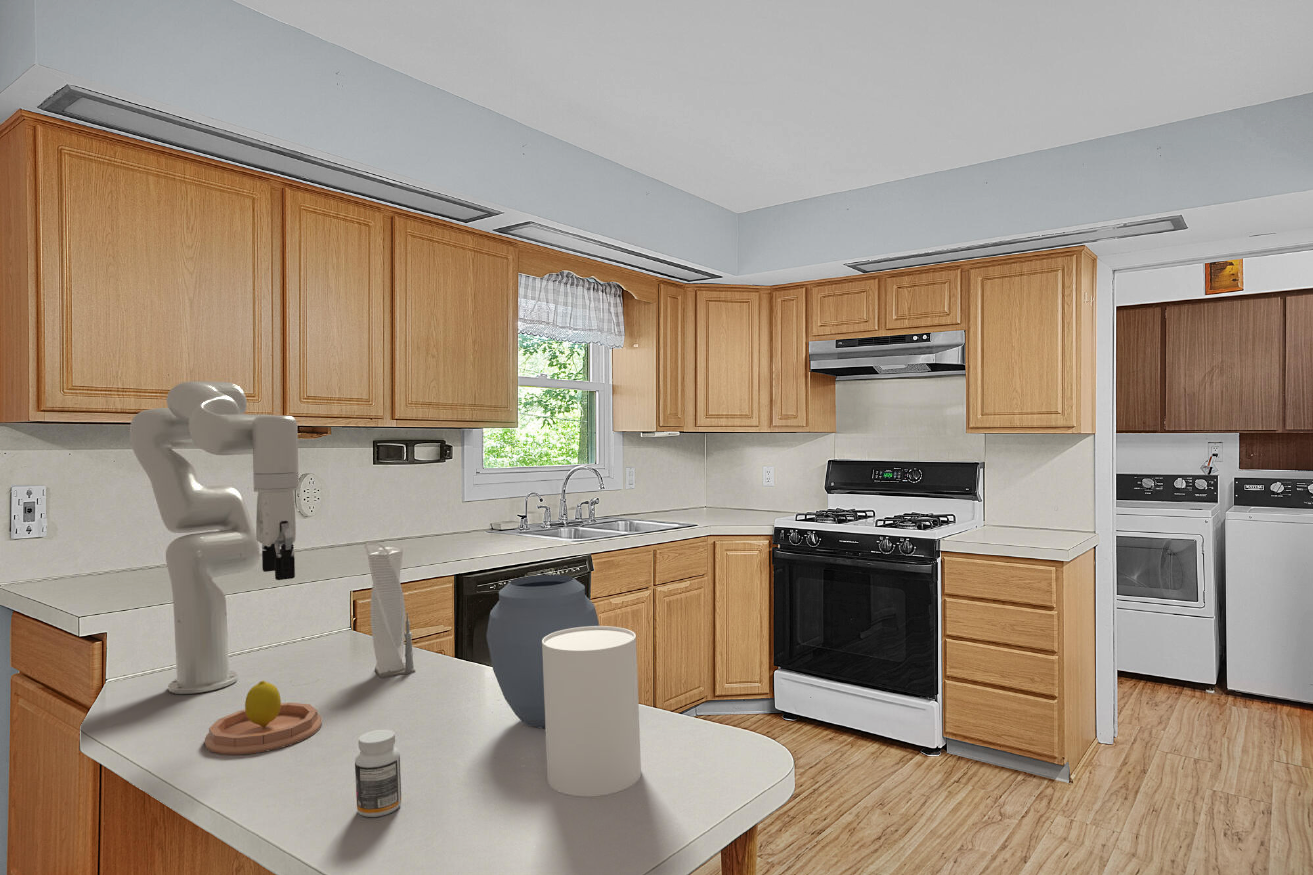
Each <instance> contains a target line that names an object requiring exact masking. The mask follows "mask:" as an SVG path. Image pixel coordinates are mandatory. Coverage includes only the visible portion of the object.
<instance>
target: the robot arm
mask: <svg viewBox="0 0 1313 875" xmlns="http://www.w3.org/2000/svg"><path fill="white" fill-rule="evenodd" d="M247 403H248V401H247V396H246V394H245V392H244V390H243V389H242V388H241V387H240V386H239V385H237V384H236V383H233V382H228V381H201V380H199V381H195V380H194V381H184V382H180V383H179V384H178V383H177V384H176V385H175V386H174V387H172V388H171V389H170V390H169V392H168V393H167V396H166V404H167V407H161V408H160V407H158V408H156V407H155V408H149V409H146V410H142V411H140V412H138V413H136V414H135V415H134V416H133V418H132V419H131V422H130V425H129V437H130V445H131V447H132V450H133V452H134V455H135V457H136V459H137V461H138V462H139V464H140V466H141V467H142V469H143V470H144V472H145V473H146V475H147V477H148V479H149V481H150V483H151V487H152V491H153V495H154V498H155V500H156V505H157V507H158V510H159V513H160V514H159V515H160V518H161V520H162V523H163V525H164V527H165V528H166V529H167V530H168V531H170V532H171V533H175V534H184V535H181V536H180V537H177V538H175V539H174V540H172V541H171V542H170V543H169V544H168V545H167V547H166V550H165V564H166V567H167V570H168V575H169V580H170V584H171V591H172V603H173V622H174V642H175V643H174V644H175V645H174V646H175V665H176V668H175V669H176V679H174V680H172V681H171V682H170V683H169V684H168V686H167V687H168V691H169V692H170V693H172V694H177V695H190V694H199V693H201V694H202V693H205V692H211V691H215V690H219V689H222V688H225V687H228V686H230V685H232V684H234V683H235V682H236V681H238V678H239V677H238V673H237V672H236V671H233V670H230V663H229V662H230V661H229V660H230V659H229V638H228V637H229V636H228V634H229V633H228V617H227V615H228V614H227V600H226V595H225V593H224V592H223V591H222V589H221V588H220V587H219V586H218V585H217V584H216V583H215V582H214V581H213V579H214V578H217V577H222V576H227V575H228V576H229V575H234V574H240V573H245V572H248V571H251V570H252V569H254V568H255V567H257V565H258V563H259V560H260V554H261V558H262V561H261V562H262V566H261V567H262V568H261V569H262V572H264V573H266V572H274V579H275V580H276V581H284V580H290V579H295V576H296V570H295V569H296V566H295V559H296V558H295V550H294V548H295V547H294V543H295V542H296V539H297V538H296V536H297V534H296V533H297V532H296V528H297V526H296V524H297V523H296V505H295V494H294V493H295V492H294V491H299V489H300V487H299V486H300V482H299V446H298V445H299V443H298V442H299V437H298V432H299V431H298V422H297V420H296V419H295V417H294V416H291V415H275V414H266V413H265V414H262V413H261V414H251V413H250V414H245V413H246V410H247ZM175 447H176V448H181V447H184V448H185V447H186V448H187V447H197V448H199V449H200V450H203V451H204V452H206V453H209V454H211V455H216V456H236V455H237V456H238V455H252V469H253V471H252V472H253V475H252V476H253V478H252V479H253V492H255V493H257V500H256V526H255V527H256V528H254V526H253V522H252V519H251V517H250V513H249V510H248V508H247V507H248V506H247V504H246V502H245V500H244V498H243V495H242V494H241V493H240V491H238V490H237V488H235V487H232V486H230V485H213V486H211V485H210V486H203V485H202V484H200V482H199V479H198V476H197V472H196V470H195V468H194V467H193V465H192V464H191V463H190V462H189V461H188V460H187V459H186V458H185V457H184V456H182V455H181V454H180V453H178V452H176V451H175V450H174V449H173V448H175ZM255 529H256V530H255ZM216 530H217V531H216ZM204 531H206V532H204ZM255 531H256V532H255ZM188 533H189V534H188ZM191 533H192V534H191ZM185 534H186V535H185ZM260 544H261V549H262V550H261V551H260ZM260 552H261V553H260Z"/></svg>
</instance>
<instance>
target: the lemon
mask: <svg viewBox="0 0 1313 875" xmlns="http://www.w3.org/2000/svg"><path fill="white" fill-rule="evenodd" d="M281 701H282V700H281V695H280V692H279V690H278V688H277V687H276V686H275V685H274V684H272V683H271V682H267V681H265V680H261V681H259V682H258V683H257V684H255V685H254V686H252V687H251V688H250V689H249V691H248V692H247V695H246V697H245V701H244V703H245V704H244V710H245V711H246V715H247V717H248V719H249V720H250V721H251V722H253V723H255V724H258V725H260V726H261V727H266V726H267V725H268V724H269V723H270V722H271V721H273V720H274V719H275V718H276V717H277V715H278V714H279V711H280V707H281V703H282V702H281Z"/></svg>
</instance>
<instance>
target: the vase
mask: <svg viewBox="0 0 1313 875" xmlns="http://www.w3.org/2000/svg"><path fill="white" fill-rule="evenodd" d="M585 589H586V586H585V585H584V584H582V583H581V582H580V581H578V580H577V579H575V578H574V577H573V576H570V575H565V574H538V575H537V574H534V575H527V576H521V577H518V578H515V579H511V580H510V581H509V582H508V583H507V584H506V585H505V586H504V587H503V588H501V589H500V590H499V591H498V599H499V600H498V601H497V603H496V604H495V605H494V606H493V608H492V609H491V610H490V613H489V618H488V623H487V631H486V635H485V636H486V641H487V642H486V643H487V647H488V651H489V656H490V661H491V666H492V671H493V673H494V676H495V678H496V681H497V683H498V686H499V688H500V690H501V692H502V693H501V694H502V695H503V698H504V700H505V701H506V703H507V705H508V706H509V707H510V709H511V710H512V712H513V713H514V714H515V716H516V717H517V718H518V719H519V721H521V722H522V723H523V724H525V725H527V726H529V727H532V728H538V729H546V726H545V702H544V677H543V652H542V640H543V638H544V637H545V636H547V635H549V634H551V633H554V632H557V631H561V630H565V629H570V628H577V627H588V626H601V625H600V622H599V618H598V614H597V609H596V606H595V604H594V602H592V601H591V600H590V599H589V598H588V597H587V595H586V590H585Z"/></svg>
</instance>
